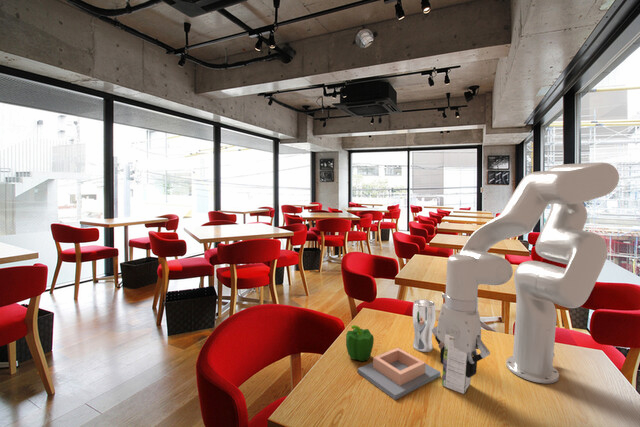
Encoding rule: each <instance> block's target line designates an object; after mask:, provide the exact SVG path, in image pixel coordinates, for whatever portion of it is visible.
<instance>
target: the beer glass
mask: <svg viewBox="0 0 640 427" xmlns="http://www.w3.org/2000/svg"><path fill="white" fill-rule="evenodd" d="M435 323H436V303H435V302H434V301H432V300H429V299H424V298H422V299H421V298H419V299H416V300H414V301H413V306H412V324H413V331H414V337H413V338H414V339H413V341H412V342H413V344H412V347H413V348H414V350H416V351H418V352H422V353H430V352H432V351H433V350H434V349H433V348H434V347H433V342H432V337H433V332H432V329H433V328H435Z"/></svg>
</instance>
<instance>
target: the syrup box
mask: <svg viewBox="0 0 640 427" xmlns="http://www.w3.org/2000/svg"><path fill="white" fill-rule="evenodd" d="M453 338H454V337H453V335H450V334H447V333H446V334H445V345H444V360H443V364H442V376H441V377H442V378H441V386H442V387H445V388H446V389H450V390H452V391H453V392H454V391H455V392H457V393H460V394H462V395H465V393H466V392H467V390H468V388H469V387H470V385H471V380H472V377H470V378H468V377H466V366H467V362H468V361H469V360H468V357H467V354H468V353H465V352H462V351H460V350H458V349H456V348H454V344H453V340H455V339H453ZM472 355H473V354H472Z"/></svg>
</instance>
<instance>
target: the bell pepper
mask: <svg viewBox="0 0 640 427" xmlns="http://www.w3.org/2000/svg"><path fill="white" fill-rule="evenodd" d="M351 329H352V330H348V331H347V332H346V334H345V346H346V350H347V355H348V356H349V357H350V358H351V360H355V361H356V360H358V361H360V362H364V361H368V359H369V358H370V357H371V354H372V350H373V347H374V341H375V337H374V335H373V334H372V333H371V331H370V329H368V328H365V329H362V328H361V327H359V326H358V325H356V324H355V325H351Z"/></svg>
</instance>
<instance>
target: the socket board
mask: <svg viewBox="0 0 640 427" xmlns="http://www.w3.org/2000/svg"><path fill="white" fill-rule="evenodd" d="M372 360H373V361H372V362H370V363H367V364H365V365H363V366H360V367H358V368H357V373H358V374H359V375H360V376H362V377H363V378H365V380H367V381H368V382H370V383H371V384H373V385H374V386H375V387H377V389H379V390H381V391H382V392H383V393H385V394H386V395H388V396H389V397H390V398H391V399H393V400H395V401H396V400H398V399H400V398H403V396H406V395H408V394H409V393H411V392H412V391H414V390H417V389H418V388H420V387H422V386H424V385H426V384H428V383H430V382H432V381H434V380H436V379H437V378H439V377H441V371H439V370H438V369H436V368H434V367H433V366H430V365H429V364H427V363H426V362H425V361H423V360H422V359H420V358H418V357H416V356H414V355H412V353H409V352H406V351H405V350H403V349H402V348H400V347H395V348H393V349H390V350H387V351H386V352H383V353H381V354H378V355H376V356H373V358H372Z"/></svg>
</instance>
